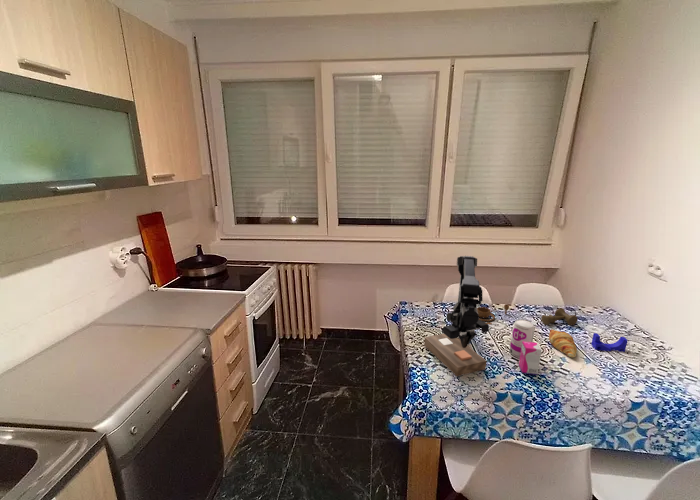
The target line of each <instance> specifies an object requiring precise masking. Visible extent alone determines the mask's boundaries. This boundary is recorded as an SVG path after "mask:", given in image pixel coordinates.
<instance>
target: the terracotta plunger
mask: <svg viewBox="0 0 700 500" xmlns="http://www.w3.org/2000/svg"><path fill="white" fill-rule="evenodd" d="M454 355H455V356H457V357H458V358H459V359H460V360H461V361H463V360H467V359H471V357H472V356H471V355H470V354H468V353H467V352H466V351H465V350H462V351H457V352H454Z"/></svg>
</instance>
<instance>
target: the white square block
mask: <svg viewBox="0 0 700 500" xmlns="http://www.w3.org/2000/svg"><path fill="white" fill-rule="evenodd" d="M438 341H439V342H441V343H442V344H443V345H449V344H453V343H452V342H451V341H450V340H449V339H448V338H444V339H439V340H438Z"/></svg>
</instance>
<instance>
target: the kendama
mask: <svg viewBox="0 0 700 500" xmlns="http://www.w3.org/2000/svg"><path fill="white" fill-rule="evenodd" d="M540 320H541V322H542V324H543V325H544V326H548V325H549V324H555V323H556V321H560V320H564V321H566V323H567V325H569V326H575V325H576V324H577V323H578V317H577V315H576V314H568V313H566V310H565V309H564V308H562V307H560V308H557V309H556V310H555V311H554V315H552V314H548V315H546V314H543V315H541V318H540Z"/></svg>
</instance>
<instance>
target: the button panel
mask: <svg viewBox="0 0 700 500" xmlns="http://www.w3.org/2000/svg"><path fill="white" fill-rule="evenodd" d="M444 338H448V339H449V340H450V341H451V342H452V343H453V344H449V345H443V344H442V343H441V342H439V341H438V340H439V339H444ZM423 341H424V344H423V345H424V347H426V348H427V350H429V351H430V352H431V353H432V354H433V355H434V356H435V357H436V358H437V359H438V360H439V361H440V362H441V363H442V364H443V365H444V366H445V367H446V368H447V369H449V370H450V372H452V374H454V375H455V377H460V376H466V375H468V374H473V373H476V372H481V371H484V370H486V369H487V360H486V359H485V358H484V357H482V356H481V354H479V353H477V352H476V351H475V350H474V349H473V348H471V347H470V346H469V345H467V346H466V348H463V347H462V344H461V341H460V338H459V337H458V338H454V339H450V338H449V337H448V336H446V335H445V334H444V333H440V334H435V335H429V336H425V337H424V339H423ZM462 350H465V351H466V352H467V353H468V354H470V355H471V356H472V357H471V359H467V360H463V361H461V360H460V359H459V358H458V357H457V356H455V355H454V352H457V351H462Z"/></svg>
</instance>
